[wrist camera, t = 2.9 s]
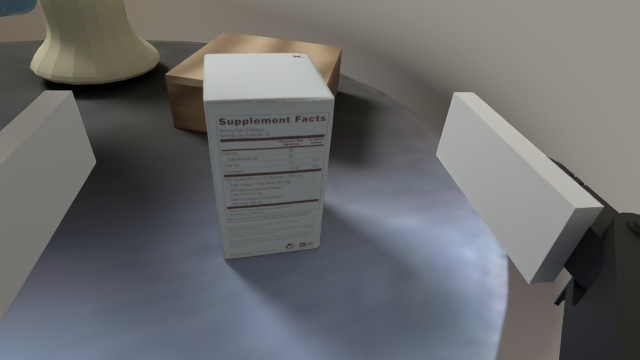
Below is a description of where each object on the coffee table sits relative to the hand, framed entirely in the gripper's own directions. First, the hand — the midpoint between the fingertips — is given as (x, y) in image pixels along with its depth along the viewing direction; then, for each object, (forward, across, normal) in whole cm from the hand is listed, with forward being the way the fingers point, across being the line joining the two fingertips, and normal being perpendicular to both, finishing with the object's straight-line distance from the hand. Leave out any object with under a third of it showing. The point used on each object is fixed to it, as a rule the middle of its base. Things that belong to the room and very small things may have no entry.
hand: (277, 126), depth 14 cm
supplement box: (+10, 0, -15) cm, 18 cm away
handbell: (+42, -22, -14) cm, 49 cm away
